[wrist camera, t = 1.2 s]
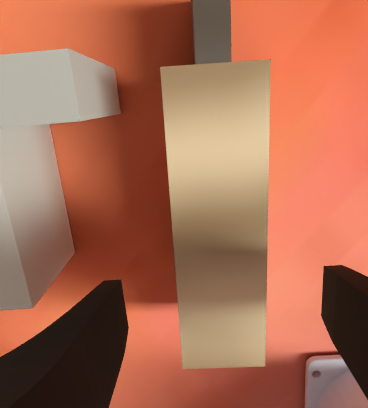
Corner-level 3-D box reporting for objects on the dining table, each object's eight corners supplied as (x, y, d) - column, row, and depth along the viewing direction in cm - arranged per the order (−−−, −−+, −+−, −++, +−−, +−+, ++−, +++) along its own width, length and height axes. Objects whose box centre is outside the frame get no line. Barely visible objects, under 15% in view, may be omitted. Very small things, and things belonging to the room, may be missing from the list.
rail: (246, 298, 19) (265, 366, 14) (184, 301, 19) (182, 369, 14) (245, -2, 14) (272, -54, 9) (164, 4, 14) (151, -45, 10)
